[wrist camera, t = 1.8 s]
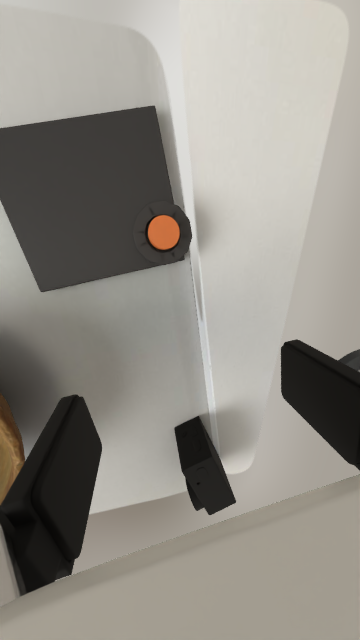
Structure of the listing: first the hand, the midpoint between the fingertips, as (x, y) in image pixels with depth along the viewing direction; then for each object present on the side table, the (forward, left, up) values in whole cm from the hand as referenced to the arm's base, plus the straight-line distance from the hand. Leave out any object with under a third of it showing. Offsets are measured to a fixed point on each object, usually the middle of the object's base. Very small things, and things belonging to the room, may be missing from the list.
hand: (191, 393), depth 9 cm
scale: (+4, -12, -17) cm, 22 cm away
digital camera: (0, +24, -18) cm, 30 cm away
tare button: (-2, -8, -15) cm, 17 cm away
